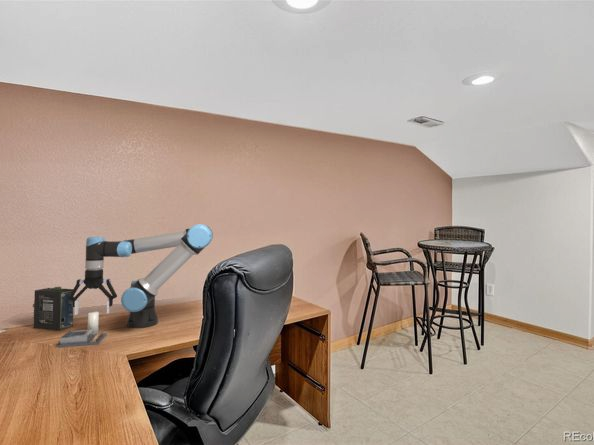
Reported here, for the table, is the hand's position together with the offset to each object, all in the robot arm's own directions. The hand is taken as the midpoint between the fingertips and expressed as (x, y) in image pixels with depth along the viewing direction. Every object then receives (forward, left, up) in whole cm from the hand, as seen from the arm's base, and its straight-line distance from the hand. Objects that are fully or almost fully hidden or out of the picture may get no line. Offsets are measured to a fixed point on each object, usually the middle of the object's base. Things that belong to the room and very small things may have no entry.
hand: (92, 313), depth 161 cm
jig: (+1, +11, -10) cm, 15 cm away
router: (+22, -16, -10) cm, 29 cm away
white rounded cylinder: (0, 0, -10) cm, 10 cm away
